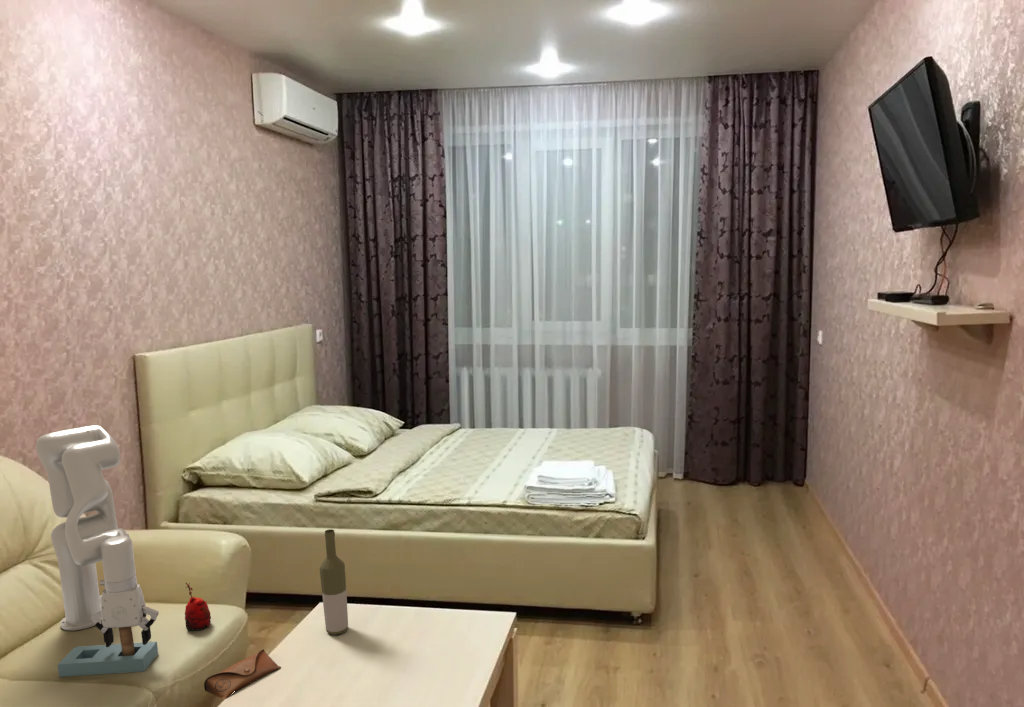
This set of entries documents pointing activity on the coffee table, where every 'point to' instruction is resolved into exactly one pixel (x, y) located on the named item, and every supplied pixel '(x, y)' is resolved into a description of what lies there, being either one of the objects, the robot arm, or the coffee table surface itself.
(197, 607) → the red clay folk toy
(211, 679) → the sunglasses case
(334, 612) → the bottle
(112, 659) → the hole block
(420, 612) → the coffee table surface
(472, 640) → the coffee table surface
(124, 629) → the peg
